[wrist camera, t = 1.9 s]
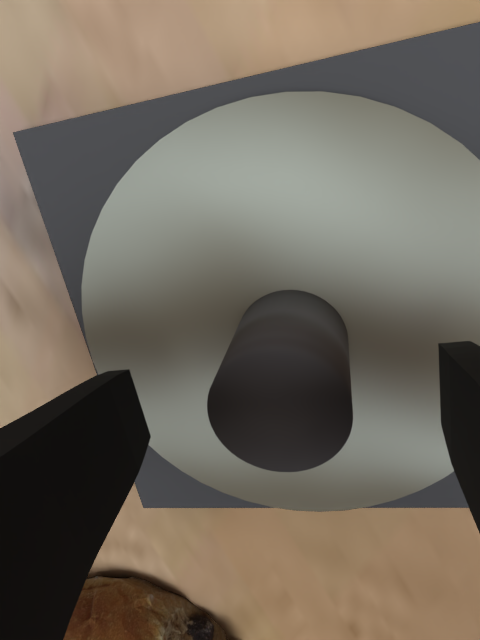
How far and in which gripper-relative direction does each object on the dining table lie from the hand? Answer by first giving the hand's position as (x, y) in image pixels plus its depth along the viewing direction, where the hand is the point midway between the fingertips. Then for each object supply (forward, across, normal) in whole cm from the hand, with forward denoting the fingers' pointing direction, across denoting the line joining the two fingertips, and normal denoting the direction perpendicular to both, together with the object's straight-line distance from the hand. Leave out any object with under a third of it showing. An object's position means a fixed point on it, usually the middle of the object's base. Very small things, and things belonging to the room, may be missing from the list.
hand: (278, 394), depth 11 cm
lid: (+4, 0, 0) cm, 4 cm away
